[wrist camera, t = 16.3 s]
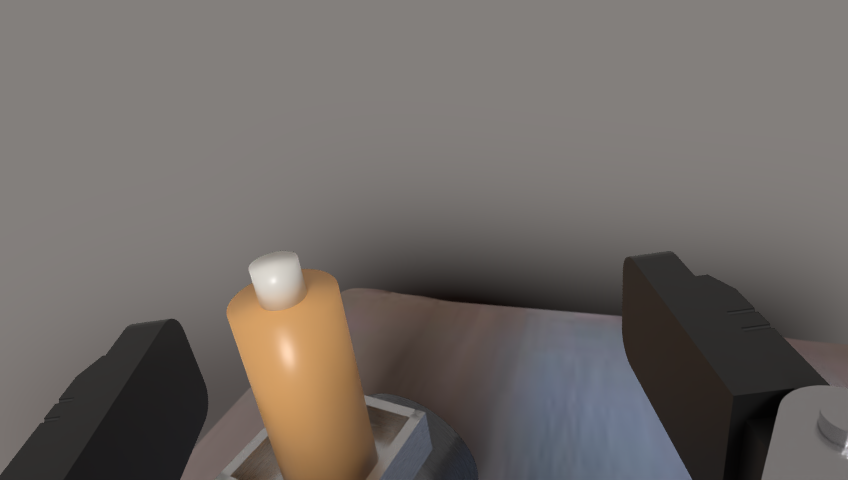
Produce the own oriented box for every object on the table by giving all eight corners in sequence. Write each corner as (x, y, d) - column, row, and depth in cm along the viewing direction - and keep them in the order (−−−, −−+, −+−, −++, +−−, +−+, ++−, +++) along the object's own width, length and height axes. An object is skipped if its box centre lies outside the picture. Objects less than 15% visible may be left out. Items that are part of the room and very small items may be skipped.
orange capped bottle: (321, 421, 38) (267, 231, 32) (395, 444, 35) (352, 242, 29) (264, 489, 34) (189, 284, 27) (343, 520, 31) (280, 302, 25)
